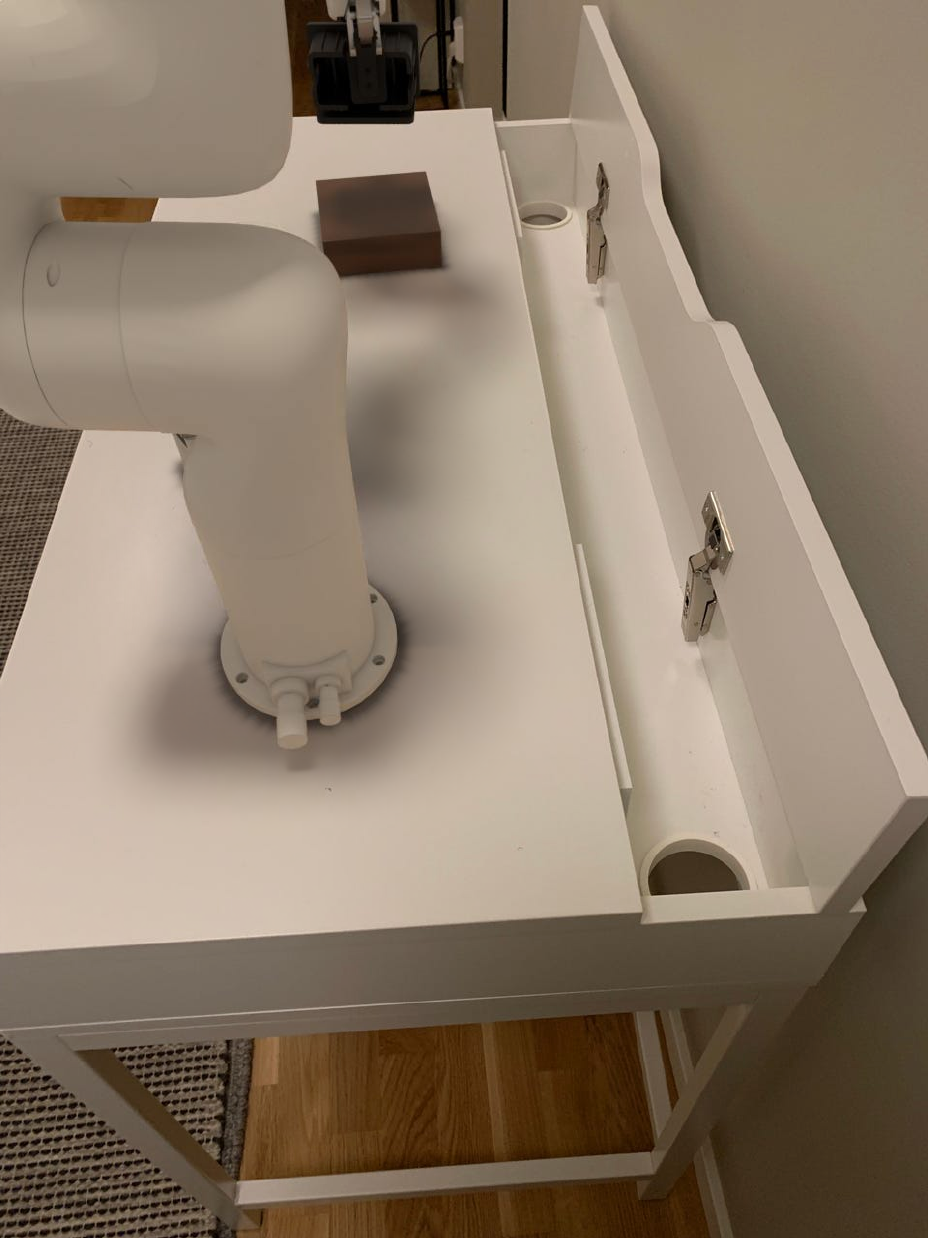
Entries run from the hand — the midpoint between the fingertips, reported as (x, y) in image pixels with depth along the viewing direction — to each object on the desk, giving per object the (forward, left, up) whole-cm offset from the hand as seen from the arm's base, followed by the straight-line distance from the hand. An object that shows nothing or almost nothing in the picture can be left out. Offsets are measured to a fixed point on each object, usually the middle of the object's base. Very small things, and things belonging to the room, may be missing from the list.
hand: (365, 79), depth 82 cm
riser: (0, 0, -16) cm, 16 cm away
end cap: (0, 0, -3) cm, 3 cm away
